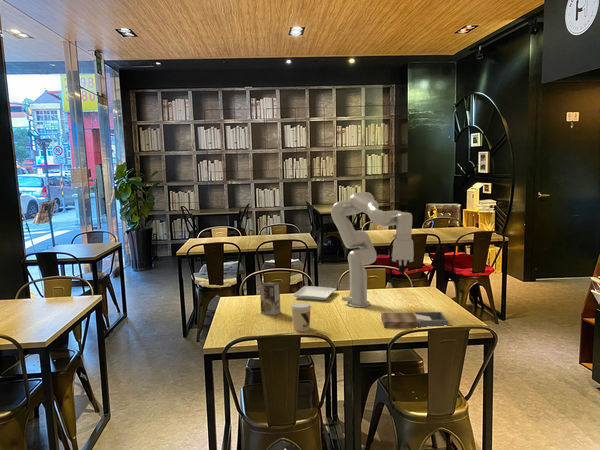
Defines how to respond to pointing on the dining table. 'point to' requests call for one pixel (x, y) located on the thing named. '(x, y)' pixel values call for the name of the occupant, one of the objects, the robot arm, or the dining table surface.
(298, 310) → the coffee cup
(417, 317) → the tile
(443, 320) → the tray
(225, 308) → the dining table surface
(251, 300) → the dining table surface
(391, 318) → the flat wooden board
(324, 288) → the salad plate
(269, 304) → the coffee box
